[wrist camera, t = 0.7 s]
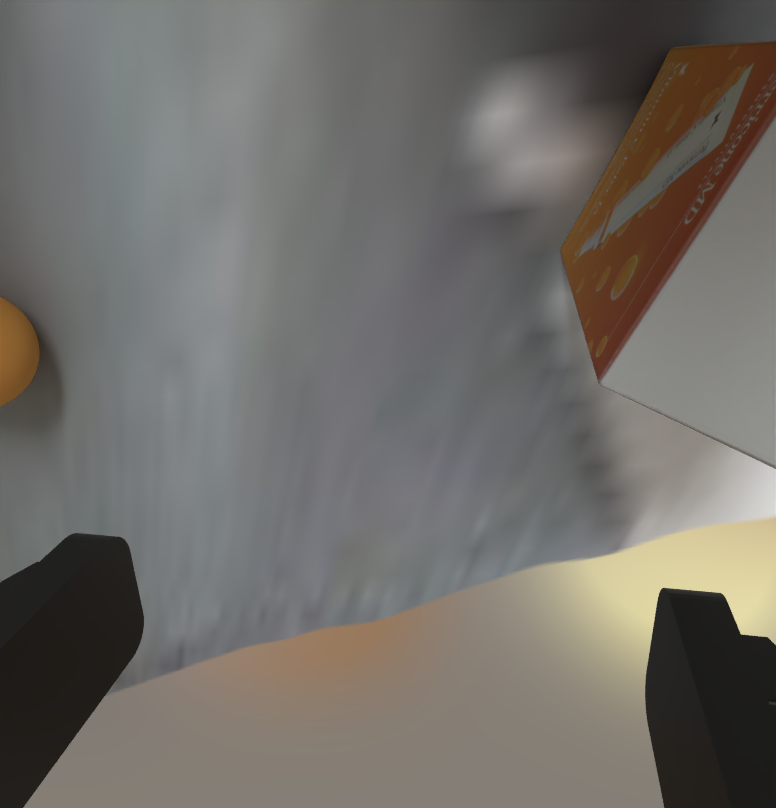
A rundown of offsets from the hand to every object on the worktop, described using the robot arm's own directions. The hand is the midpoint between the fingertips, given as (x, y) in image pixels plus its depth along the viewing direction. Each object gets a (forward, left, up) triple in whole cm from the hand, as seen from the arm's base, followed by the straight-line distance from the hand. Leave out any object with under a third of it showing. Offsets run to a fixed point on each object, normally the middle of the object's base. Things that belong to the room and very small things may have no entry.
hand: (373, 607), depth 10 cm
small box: (+1, +9, -21) cm, 22 cm away
